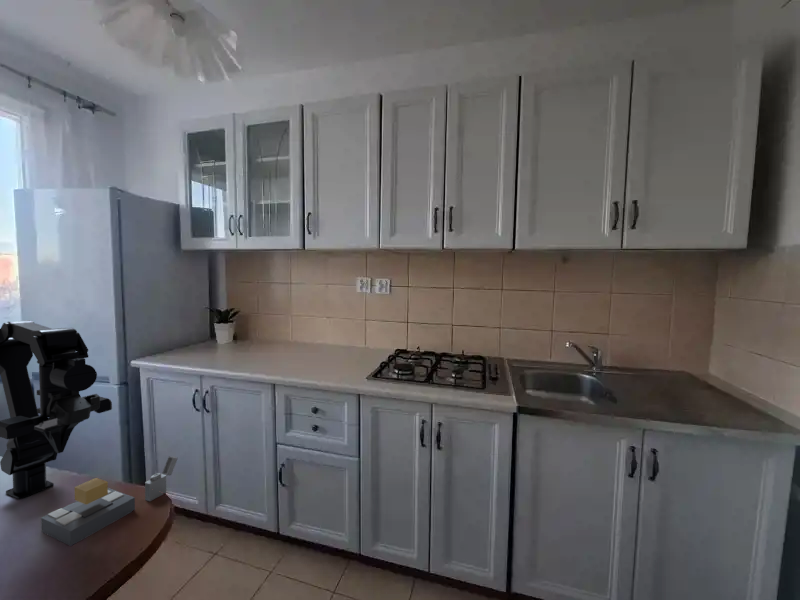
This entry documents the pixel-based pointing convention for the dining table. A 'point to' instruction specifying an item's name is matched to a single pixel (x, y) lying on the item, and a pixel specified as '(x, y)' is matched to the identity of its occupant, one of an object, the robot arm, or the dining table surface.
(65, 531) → the keypad
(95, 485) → the key
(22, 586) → the dining table surface
